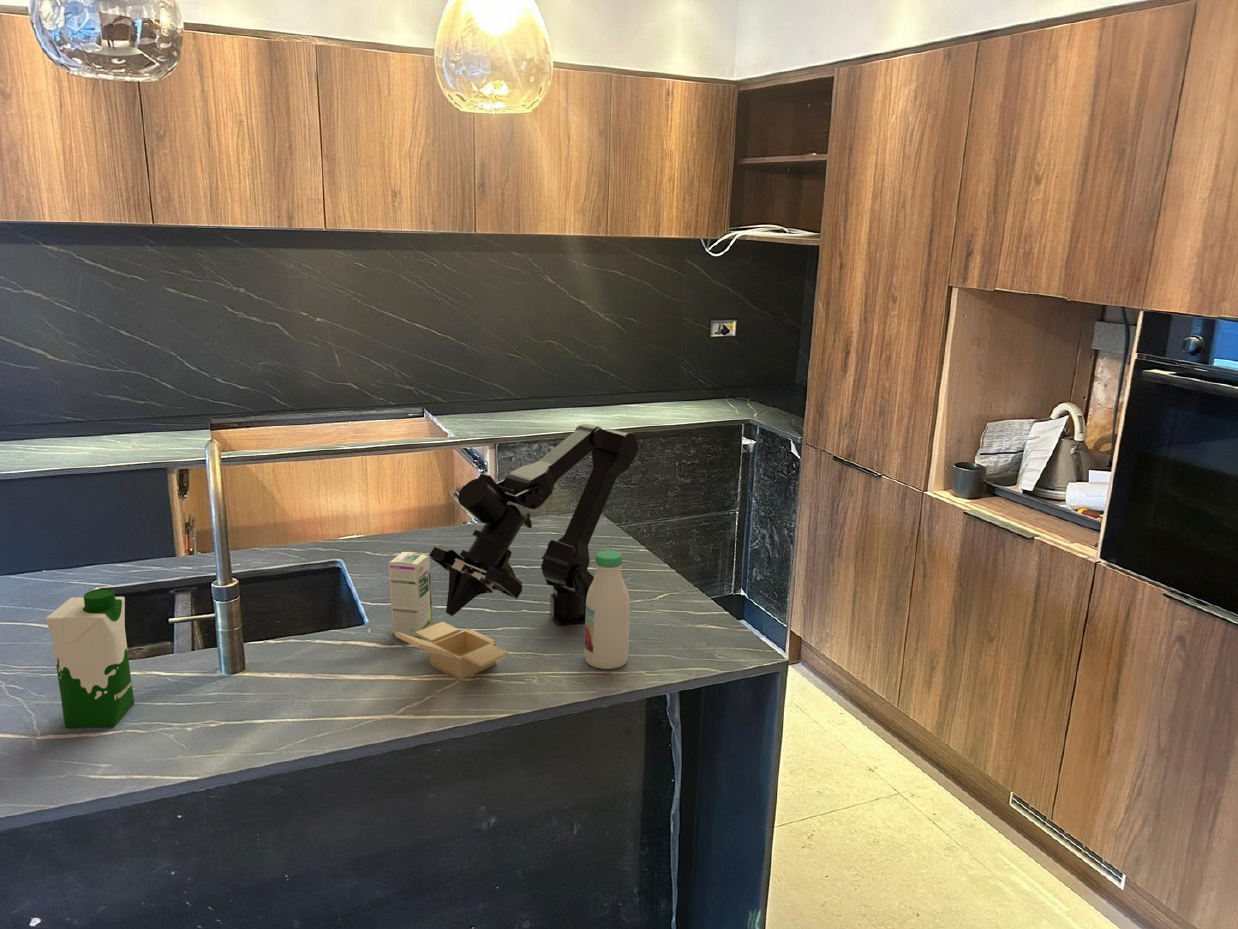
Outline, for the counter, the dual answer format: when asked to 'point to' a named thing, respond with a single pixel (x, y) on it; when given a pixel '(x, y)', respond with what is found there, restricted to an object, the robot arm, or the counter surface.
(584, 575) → the robot arm
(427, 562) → the syrup box
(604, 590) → the milk bottle
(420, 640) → the back flap
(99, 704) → the milk carton
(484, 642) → the carton
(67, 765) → the counter surface
